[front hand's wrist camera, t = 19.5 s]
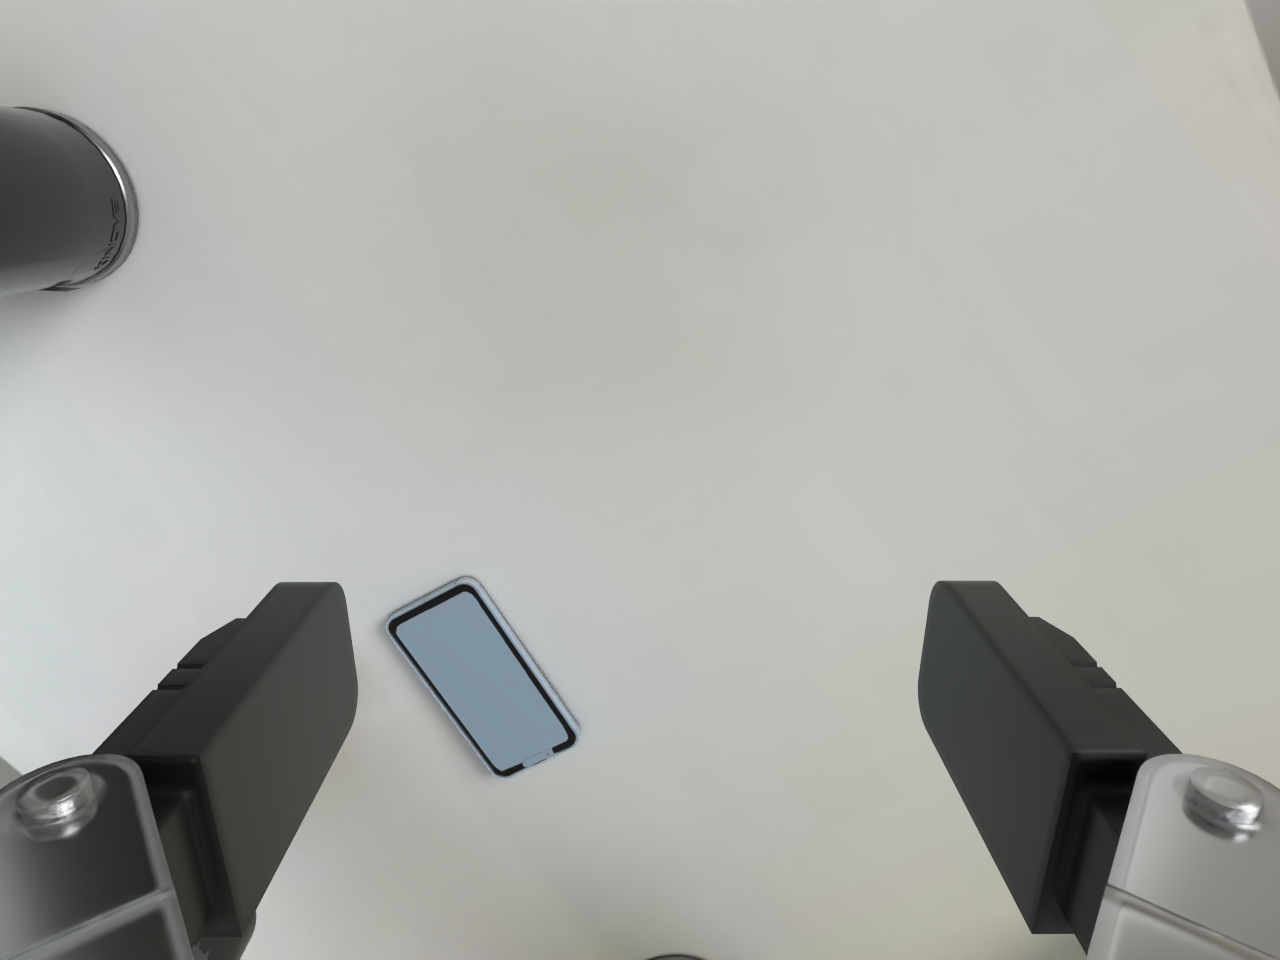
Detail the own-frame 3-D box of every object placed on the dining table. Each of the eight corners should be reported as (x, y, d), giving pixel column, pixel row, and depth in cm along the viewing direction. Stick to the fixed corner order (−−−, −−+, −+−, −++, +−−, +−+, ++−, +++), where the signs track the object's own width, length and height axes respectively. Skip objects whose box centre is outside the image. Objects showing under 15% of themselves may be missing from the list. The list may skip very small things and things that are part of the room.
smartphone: (470, 575, 54) (585, 742, 58) (472, 569, 55) (586, 734, 59) (378, 623, 55) (497, 783, 59) (382, 616, 56) (500, 774, 60)
